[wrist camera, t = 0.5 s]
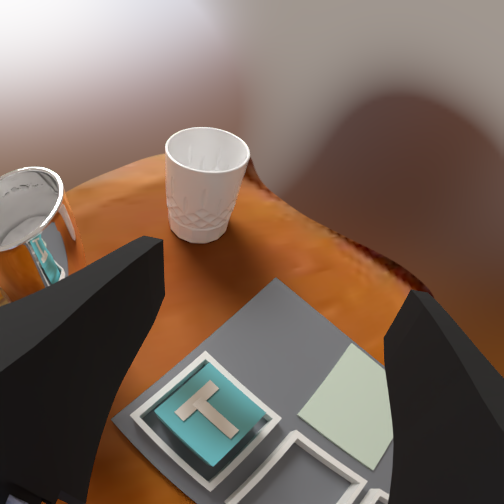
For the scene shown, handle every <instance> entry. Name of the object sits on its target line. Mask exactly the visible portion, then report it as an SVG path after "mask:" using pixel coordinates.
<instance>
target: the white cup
mask: <svg viewBox="0 0 504 504" xmlns="http://www.w3.org/2000/svg"><path fill="white" fill-rule="evenodd" d="M249 158H250V151H249V148H248V146H247V145H246V144H245V142H244V141H243V140H241V139H240V138H239V137H237V136H236V135H234V134H232V133H229V132H227V131H224V130H220V129H215V128H209V127H195V128H189V129H184V130H181V131H179V132H177V133H175V134H174V135H172V136H171V137H170V138H169V139H168V141H167V142H166V145H165V169H166V197H167V207H168V219H169V224H170V228H171V230H172V231H173V232H174V233H175V234H176V235H177V236H178V237H179V238H181V239H183V240H186V241H188V242H190V243H208V242H211V241H214V240H217V239H218V238H219V237H220V236H222V235H223V234H224V233H225V232H226V229H227V225H228V221H229V218H230V215H231V213H232V211H233V208H234V206H235V203H236V200H237V197H238V193H239V190H240V187H241V183H242V180H243V177H244V174H245V170H246V167H247V164H248V161H249Z"/></svg>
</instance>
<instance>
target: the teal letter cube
mask: <svg viewBox="0 0 504 504" xmlns="http://www.w3.org/2000/svg"><path fill="white" fill-rule="evenodd" d="M154 412H155V414H156V415H157V417H158V419H159V420H160V421H161V422H162V423H163V424H164V425H165V426H166V427H167V428H168V429H169V430H170V431H171V432H172V433H173V434H174V435H175V436H176V437H177V438H178V439H179V440H180V441H181V442H182V443H183V444H184V445H185V446H186V447H188V448H189V449H190V450H191V451H192V452H193V453H194V454H195V455H196V456H198V457H199V458H200V459H201V460H202V461H203V462H204V463H206V464H207V465H209V466H212V467H213V466H214V465H216V464H217V463H218V462H219V461H220V460H221V459H222V458H223V457H224V456H225V455H226V454H227V453H228V452H229V451H230V450H231V449H232V448H233V447H234V446H235V445H236V444H237V443H238V442H239V441H240V440H241V439H242V438H243V437H244V436H245V435H246V434H247V433H248V432H249V431H250V430H251V429H252V428H253V426H254V425H255V424H256V423H257V422H258V421H259V420H260V419H261V418H262V417H263V416H264V415H265V414H266V412H265V411H264V410H263V409H261V408H260V407H259V406H258V405H257V404H255V403H254V402H253V401H252V400H251V399H250V398H249V397H247V396H246V395H245V394H244V393H243V392H242V391H241V390H239V389H238V388H237V387H236V386H235V385H234V384H233V383H232V382H230V381H229V380H228V379H227V378H226V377H225V376H224V375H223V374H222V373H221V372H220V371H219V370H217V369H216V368H215V367H214V366H213V365H212V364H211V363H210V362H209V363H208V364H207V365H206V366H205V367H204V368H202V369H201V370H200V371H199V372H198V373H197V374H196V375H195V376H193V377H192V378H191V379H190V380H189V381H188V382H187V383H186V384H184V385H183V386H182V387H181V388H180V389H179V390H178V391H176V392H175V393H174V394H173V395H172V396H171V397H169V398H168V399H167V400H166V401H165V402H164V403H162V404H161V405H160V406H159V407H158V408H157V409H155V410H154Z"/></svg>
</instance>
